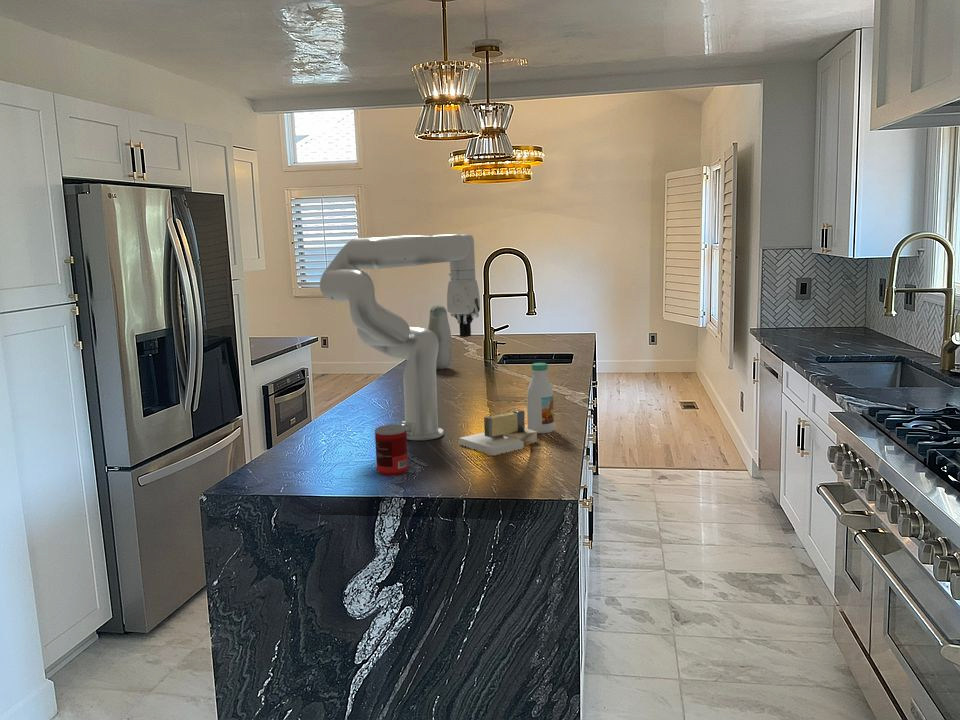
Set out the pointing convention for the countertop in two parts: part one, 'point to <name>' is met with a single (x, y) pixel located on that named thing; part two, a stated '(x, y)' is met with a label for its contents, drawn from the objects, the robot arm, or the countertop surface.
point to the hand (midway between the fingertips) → (465, 336)
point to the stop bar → (504, 423)
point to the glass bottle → (441, 335)
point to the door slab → (491, 443)
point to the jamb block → (524, 436)
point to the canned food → (391, 450)
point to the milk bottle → (540, 401)
